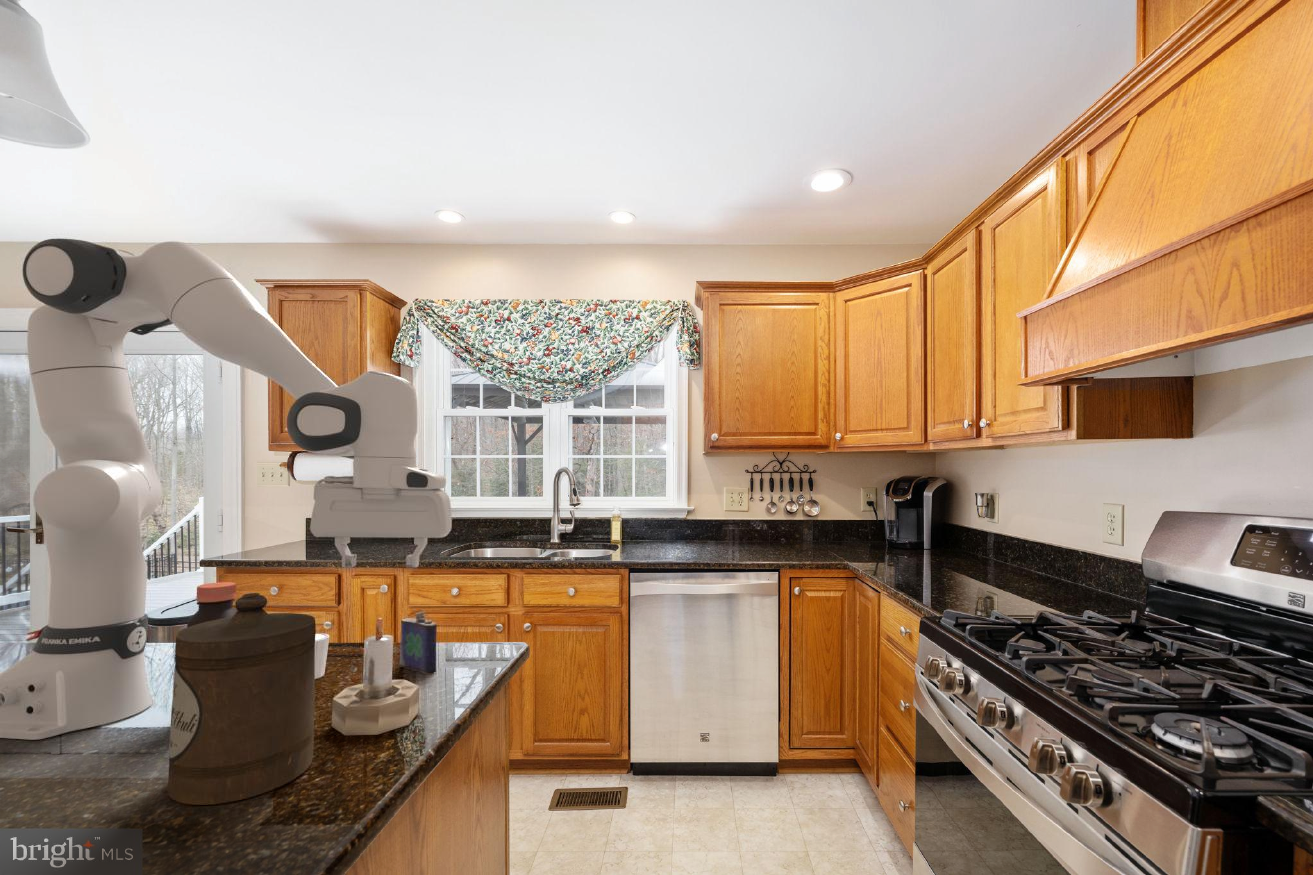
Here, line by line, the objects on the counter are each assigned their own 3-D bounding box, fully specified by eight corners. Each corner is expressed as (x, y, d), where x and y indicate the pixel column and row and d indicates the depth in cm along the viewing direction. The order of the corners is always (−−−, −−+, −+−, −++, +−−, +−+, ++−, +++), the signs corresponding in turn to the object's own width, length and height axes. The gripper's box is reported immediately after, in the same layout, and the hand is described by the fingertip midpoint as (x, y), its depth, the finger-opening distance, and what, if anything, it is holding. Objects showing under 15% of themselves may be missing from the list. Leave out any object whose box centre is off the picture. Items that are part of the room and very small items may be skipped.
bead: (321, 736, 86) (322, 707, 86) (353, 706, 96) (354, 680, 97) (401, 733, 86) (402, 705, 87) (424, 704, 97) (425, 679, 98)
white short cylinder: (308, 683, 107) (310, 643, 107) (275, 680, 108) (277, 641, 108) (336, 671, 113) (338, 633, 114) (305, 668, 115) (306, 631, 115)
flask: (396, 666, 116) (398, 610, 117) (409, 662, 119) (411, 607, 120) (427, 675, 112) (429, 616, 112) (441, 671, 114) (442, 613, 115)
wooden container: (188, 759, 78) (197, 588, 80) (318, 739, 84) (324, 580, 86) (146, 819, 65) (158, 611, 66) (304, 790, 71) (312, 600, 72)
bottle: (219, 727, 88) (225, 588, 89) (170, 728, 88) (177, 589, 89) (247, 709, 95) (253, 580, 96) (202, 710, 95) (208, 581, 96)
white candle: (357, 724, 89) (360, 622, 90) (367, 713, 93) (371, 615, 94) (385, 724, 90) (388, 621, 91) (394, 713, 94) (397, 615, 95)
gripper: (304, 475, 90) (299, 569, 89) (445, 477, 91) (442, 570, 91) (324, 475, 96) (320, 563, 95) (456, 477, 98) (452, 564, 97)
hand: (380, 566), depth 93 cm, fingers open, 8 cm apart
